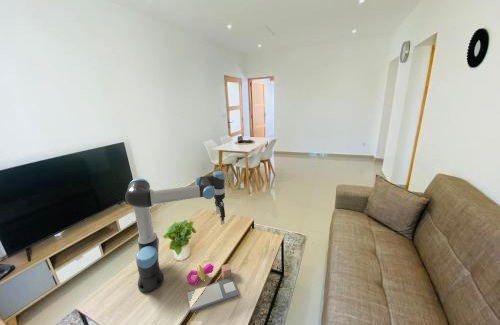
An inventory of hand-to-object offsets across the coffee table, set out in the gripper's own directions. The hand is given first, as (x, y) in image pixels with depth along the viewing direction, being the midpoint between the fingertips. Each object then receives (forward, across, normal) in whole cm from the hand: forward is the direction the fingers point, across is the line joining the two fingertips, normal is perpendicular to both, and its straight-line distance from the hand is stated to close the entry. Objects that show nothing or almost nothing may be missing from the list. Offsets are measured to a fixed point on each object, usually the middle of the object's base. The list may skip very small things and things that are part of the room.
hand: (220, 218), depth 155 cm
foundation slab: (+28, -35, +14) cm, 47 cm away
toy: (+28, -21, +19) cm, 40 cm away
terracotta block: (+28, -25, +3) cm, 37 cm away
